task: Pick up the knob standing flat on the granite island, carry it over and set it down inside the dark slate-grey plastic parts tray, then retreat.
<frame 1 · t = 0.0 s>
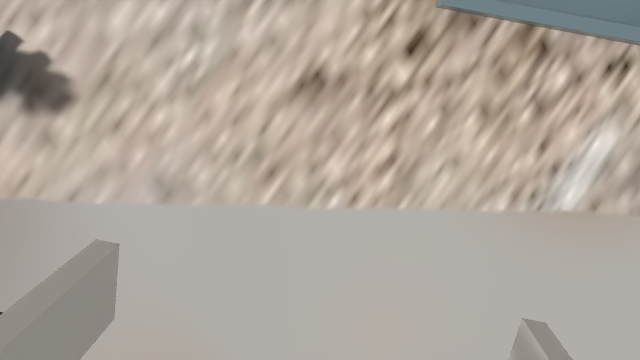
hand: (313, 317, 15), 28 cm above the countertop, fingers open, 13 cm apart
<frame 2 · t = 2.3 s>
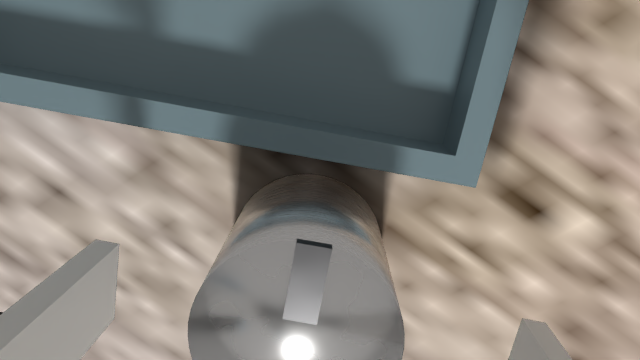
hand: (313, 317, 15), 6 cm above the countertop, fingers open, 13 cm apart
knob: (307, 244, 21), on the countertop
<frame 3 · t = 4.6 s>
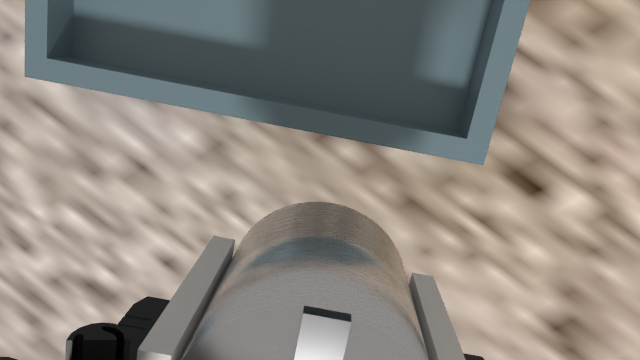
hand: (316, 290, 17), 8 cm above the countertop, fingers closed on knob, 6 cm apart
knob: (317, 284, 18), point 8 cm above the countertop, touching gripper
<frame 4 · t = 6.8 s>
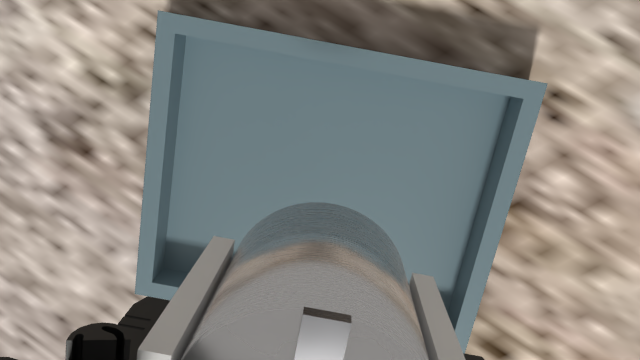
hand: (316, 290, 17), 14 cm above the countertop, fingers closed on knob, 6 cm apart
parts tray: (325, 184, 30), on the countertop
knob: (317, 285, 18), point 13 cm above the countertop, touching gripper
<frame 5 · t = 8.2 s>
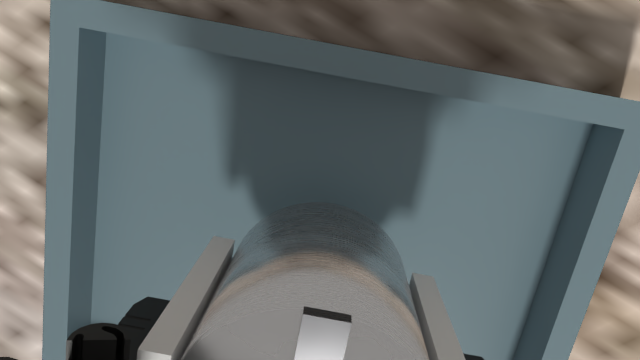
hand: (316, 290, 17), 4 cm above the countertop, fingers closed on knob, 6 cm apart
parts tray: (318, 246, 21), on the countertop
knob: (317, 285, 18), point 4 cm above the countertop, touching gripper
when the fingers open (1 cm above the countertop, at t = 9.2 s): knob stays where it is, resting on parts tray.
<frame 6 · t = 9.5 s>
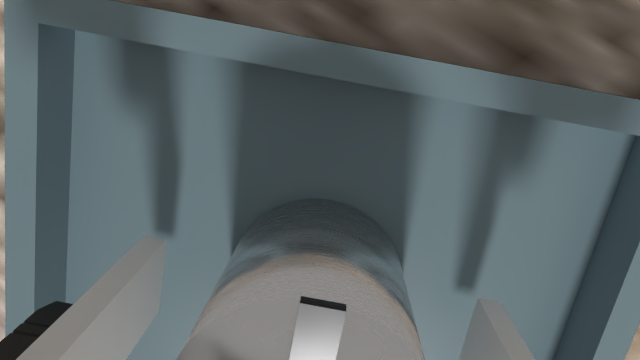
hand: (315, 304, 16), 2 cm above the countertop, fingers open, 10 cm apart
parts tray: (318, 272, 19), on the countertop
knob: (315, 279, 18), point 1 cm above the countertop, touching parts tray
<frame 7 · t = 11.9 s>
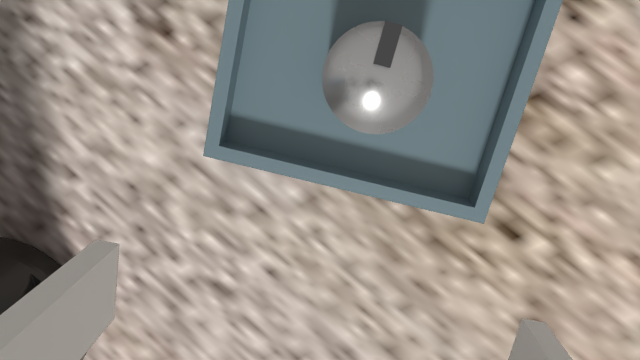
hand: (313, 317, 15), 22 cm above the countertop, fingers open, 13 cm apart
parts tray: (371, 71, 35), on the countertop
knob: (371, 71, 34), point 1 cm above the countertop, touching parts tray
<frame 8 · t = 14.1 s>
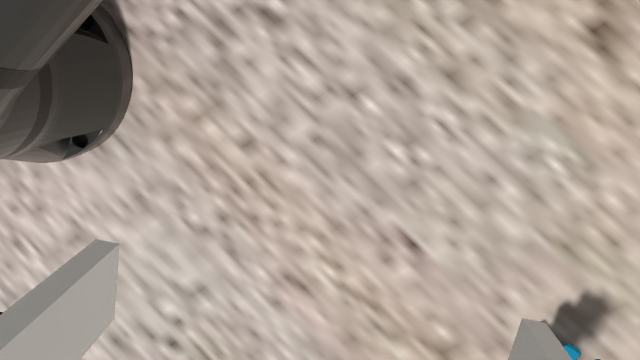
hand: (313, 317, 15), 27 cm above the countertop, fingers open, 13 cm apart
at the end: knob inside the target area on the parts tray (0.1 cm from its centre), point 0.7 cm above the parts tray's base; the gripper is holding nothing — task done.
